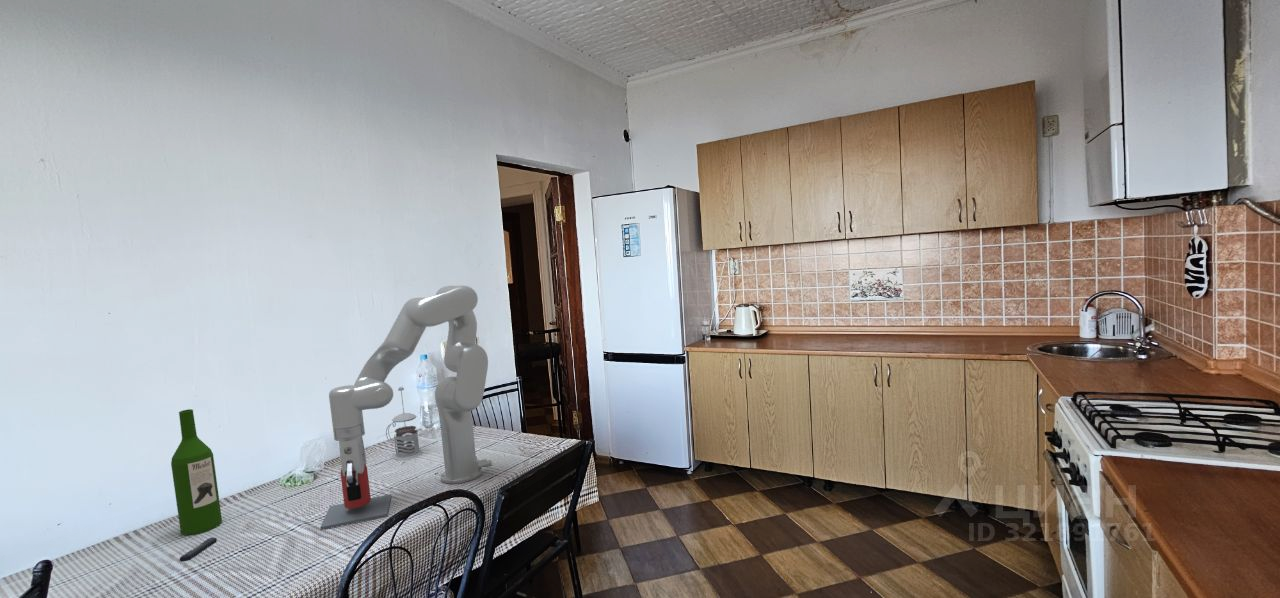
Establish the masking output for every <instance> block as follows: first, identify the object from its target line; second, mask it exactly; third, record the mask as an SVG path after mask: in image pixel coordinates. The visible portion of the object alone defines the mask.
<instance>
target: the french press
mask: <svg viewBox="0 0 1280 598" xmlns="http://www.w3.org/2000/svg"><path fill="white" fill-rule="evenodd" d="M404 390H405V388H404V386H400V387H398V389H397V391H398V392H399V391H400V394H401V396H403V393H402V392H403V391H404ZM401 403H402V406H404V400H403V398H401ZM402 411H403V412H402V413H399V414H397V415H395V416H394V417H393V418H392V419H391V421H392V422H391V423H389V424H388V425H387V427H386V430H385V436H386V439H387V440H388V441H389V442H390V443H391V444H394V446H395V448H394V449H395V456H393V460H394V461H407V460H412V459H416V458H419V457H420V456H422V455H423V454H424V453H423V451H421V450H420V444H419V435H418V434H419V433H418V430H417V426H416V425H409V426H407V425H404V426H402V427H401V426H400V427H398V428H396V429H395V430H394V433H395V434H394V435H393V436H394V439H393V438H391V435H390V427H391V426H392V427H393V428H394V427H396V423H404V424H406V422H409V421H413V420H415V419H416V418H417V415H416V414H414V413H411V412H410V413H409V412H405V408H404V407H402ZM388 437H389V438H390V439H389V438H388ZM391 440H392V441H391Z"/></svg>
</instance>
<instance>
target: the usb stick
mask: <svg viewBox="0 0 1280 598" xmlns="http://www.w3.org/2000/svg"><path fill="white" fill-rule="evenodd" d="M217 540H218V539H217V537H209V538H207V539H206V540H204V541H203V542H201V543H199V544H198V545H197V546H195V547H194V548H192V549H190V550H188V551H187V552H186V553H184V554H183V555H181V556H180V557H179V561H180V562H187V561H190V560H191V559H193V558H195V557H196V556H197V555H199V554H200V553H202V552H203V551H205V550H206V549H208V548H209V547H212V546H213V545H214V544H215V543H217ZM207 547H208V548H207Z"/></svg>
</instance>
